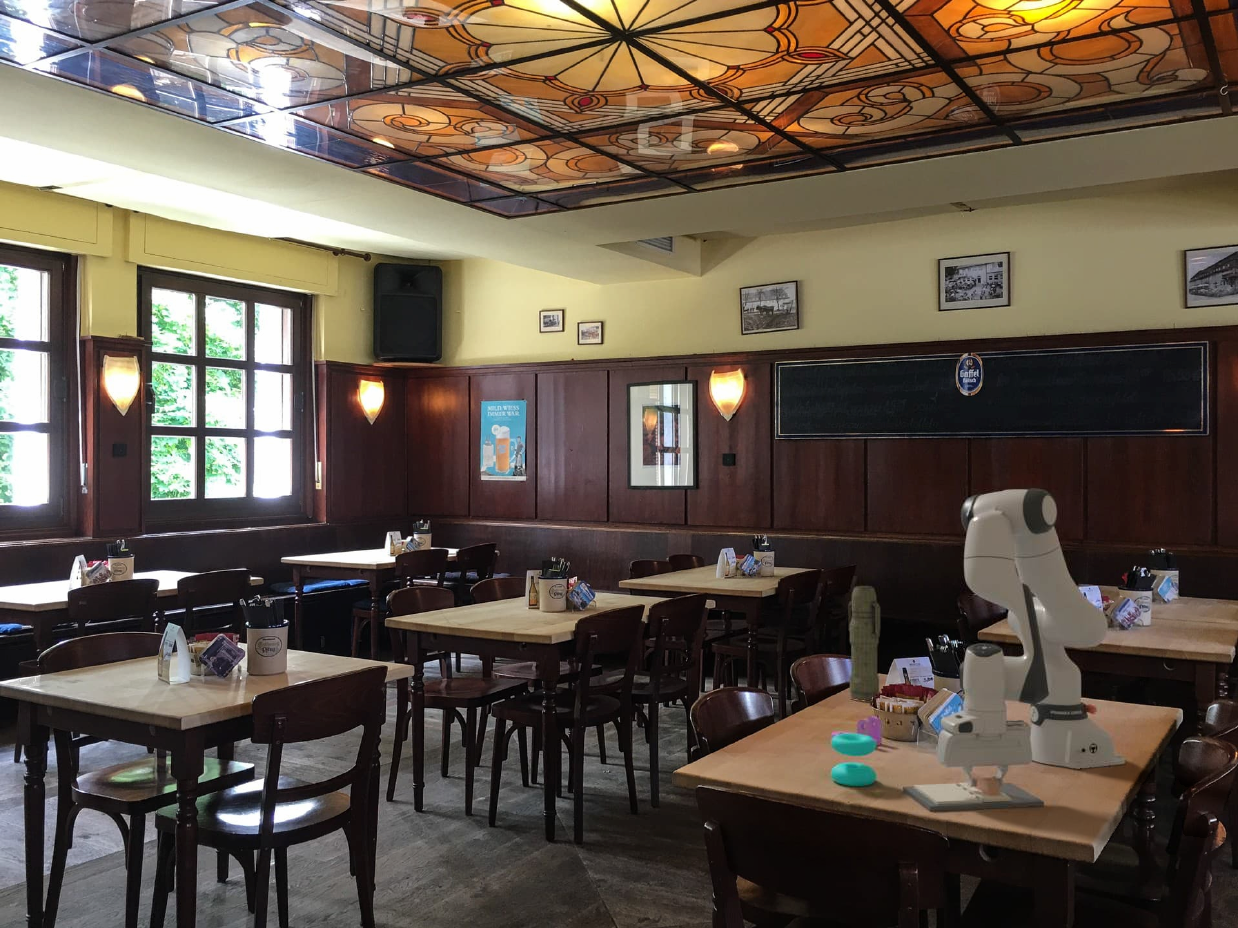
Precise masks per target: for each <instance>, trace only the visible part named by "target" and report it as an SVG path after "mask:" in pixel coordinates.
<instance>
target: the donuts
mask: <svg viewBox="0 0 1238 928" xmlns="http://www.w3.org/2000/svg"><path fill="white" fill-rule="evenodd" d="M830 745H831V747H832V749H833V750H834V751H835V752H836V753H839V754H841V755H845V756H848V757H850V756H851V757H862V756H868V755H870V754H872V753H874V751H876V749H877V746H876V742H875V740H874V739H873V738H871V737H869V736H867V735H862V734H857V733H854V732H849V733H845V734H839V735H836V736H834V737H833V738H832V737H831V740H830ZM830 777H831V778H832V781H834V782H836V783H838V784H839V785H844V786H849V787H867V786H870V785H872V784H874V782H875V781H876V780H877V773H876V772H875V770H874V769H873V768H872V767H871V766H869V765H868V764H865V763H860V762H843V763H838V764H837V765H835V766H834V767H833V768H832V769H831V771H830Z"/></svg>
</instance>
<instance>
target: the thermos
mask: <svg viewBox="0 0 1238 928" xmlns="http://www.w3.org/2000/svg"><path fill="white" fill-rule="evenodd" d="M847 610H848V611H847V612H848V613H847V615H848V626H847V627H848V629H847V630H848V631H849V643H850V646H851V648H850V649H851V650H850V651H851V653H850V654H851V659H850V660H851V663H850V665H851V666H850V667H851V672H850V676H849V692H850V696H851V698H853V699H858V700H865V701H871V700H872V697H873V696H874V694H876V693H878V694H879V692H880V678H879V676H878V675H879V674H878V646H879V645H878V644H879V642H880V641H879V638H880V635H881V606H880V604H879V602H877V594H876V591H875V587H872V586H871V585H856V586H855V587H853V590H852V593H851V600H850V601H849V602H848V604H847Z"/></svg>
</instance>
